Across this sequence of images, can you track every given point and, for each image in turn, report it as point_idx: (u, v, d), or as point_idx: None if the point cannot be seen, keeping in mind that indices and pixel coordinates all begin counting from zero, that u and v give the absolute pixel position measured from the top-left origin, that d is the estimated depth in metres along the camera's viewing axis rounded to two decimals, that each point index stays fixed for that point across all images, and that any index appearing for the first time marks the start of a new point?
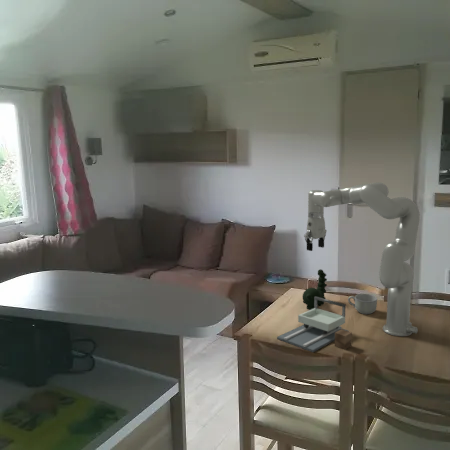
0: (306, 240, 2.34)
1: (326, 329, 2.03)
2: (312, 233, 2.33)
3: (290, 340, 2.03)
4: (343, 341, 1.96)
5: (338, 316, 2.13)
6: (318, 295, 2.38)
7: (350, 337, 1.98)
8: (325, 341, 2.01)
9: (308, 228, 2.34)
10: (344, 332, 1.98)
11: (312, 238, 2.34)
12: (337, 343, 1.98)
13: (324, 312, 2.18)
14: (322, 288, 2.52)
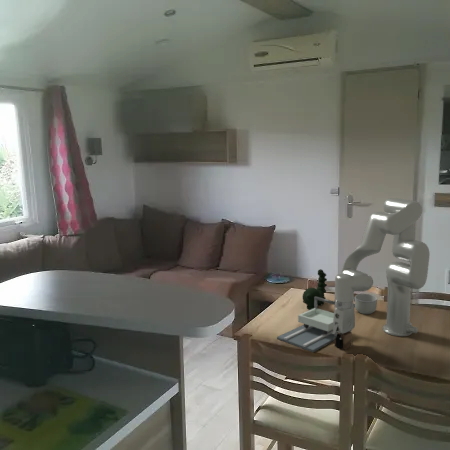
0: None
1: (326, 329, 2.03)
2: (340, 327, 1.93)
3: (290, 340, 2.03)
4: (343, 341, 1.95)
5: None
6: (318, 295, 2.38)
7: (350, 337, 1.98)
8: (325, 341, 2.01)
9: (335, 320, 1.94)
10: None
11: (341, 333, 1.95)
12: None
13: (324, 312, 2.18)
14: (322, 288, 2.52)
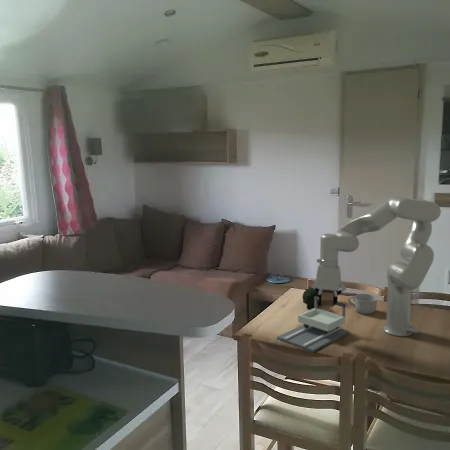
0: None
1: (326, 329, 2.03)
2: (316, 281, 2.04)
3: (290, 340, 2.03)
4: None
5: (338, 316, 2.13)
6: (318, 295, 2.38)
7: (330, 297, 2.02)
8: (325, 341, 2.01)
9: None
10: (328, 291, 2.04)
11: (320, 289, 2.04)
12: None
13: (324, 312, 2.18)
14: None
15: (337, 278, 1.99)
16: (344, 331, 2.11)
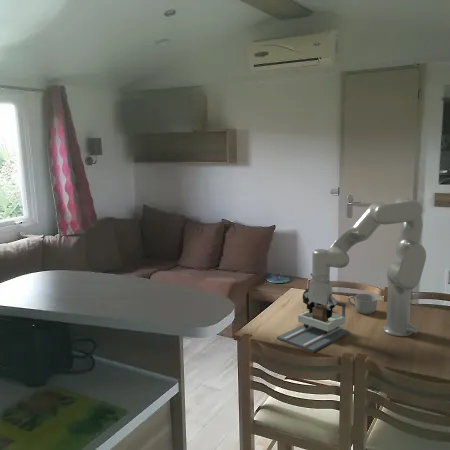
0: (309, 299, 2.16)
1: (326, 329, 2.03)
2: None
3: (290, 340, 2.03)
4: None
5: (338, 316, 2.13)
6: None
7: (320, 314, 2.09)
8: (325, 341, 2.01)
9: None
10: (319, 307, 2.11)
11: None
12: None
13: None
14: None
15: (325, 293, 2.05)
16: (344, 331, 2.11)
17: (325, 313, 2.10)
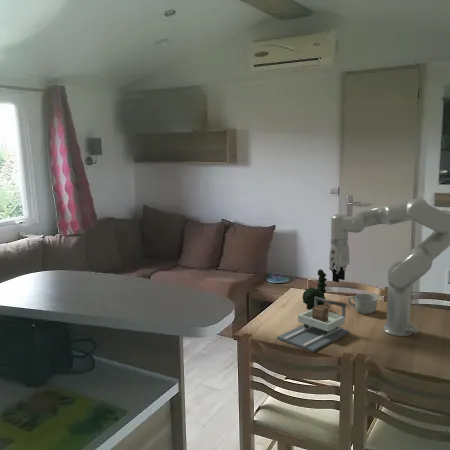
0: None
1: (326, 329, 2.03)
2: (336, 262, 2.12)
3: (290, 340, 2.03)
4: None
5: (338, 316, 2.13)
6: (318, 295, 2.38)
7: (320, 314, 2.09)
8: (325, 341, 2.01)
9: (332, 256, 2.14)
10: (319, 307, 2.11)
11: (337, 268, 2.15)
12: None
13: None
14: (322, 288, 2.52)
15: (348, 253, 2.18)
16: (344, 331, 2.11)
17: (325, 313, 2.10)
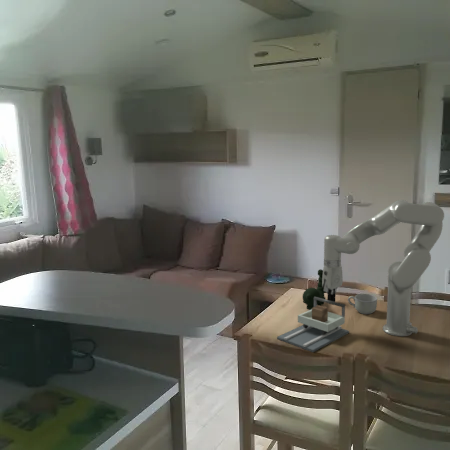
0: None
1: (325, 329, 2.03)
2: (328, 283, 2.10)
3: (290, 340, 2.03)
4: None
5: (337, 316, 2.12)
6: (318, 295, 2.38)
7: (319, 314, 2.08)
8: (325, 341, 2.01)
9: (324, 277, 2.12)
10: (319, 308, 2.11)
11: (332, 289, 2.14)
12: None
13: None
14: (322, 288, 2.52)
15: None
16: (344, 331, 2.11)
17: (324, 313, 2.10)
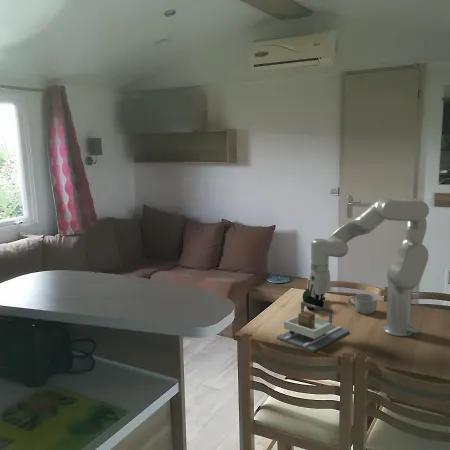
0: None
1: (312, 336, 1.97)
2: (315, 288, 2.04)
3: (290, 340, 2.03)
4: None
5: (325, 322, 2.06)
6: None
7: (306, 320, 2.02)
8: (325, 341, 2.01)
9: (311, 282, 2.05)
10: (305, 314, 2.04)
11: (319, 294, 2.07)
12: None
13: None
14: None
15: (329, 279, 2.09)
16: (344, 331, 2.11)
17: (311, 319, 2.03)
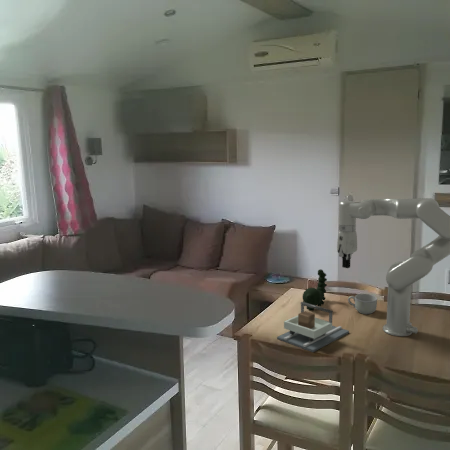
0: None
1: (312, 336, 1.97)
2: (344, 248, 2.12)
3: (290, 340, 2.03)
4: None
5: (325, 322, 2.06)
6: (318, 295, 2.38)
7: (306, 320, 2.02)
8: (325, 341, 2.01)
9: (339, 243, 2.13)
10: (305, 314, 2.04)
11: (347, 254, 2.15)
12: None
13: None
14: (322, 288, 2.52)
15: (356, 239, 2.17)
16: (344, 331, 2.11)
17: (311, 319, 2.03)
